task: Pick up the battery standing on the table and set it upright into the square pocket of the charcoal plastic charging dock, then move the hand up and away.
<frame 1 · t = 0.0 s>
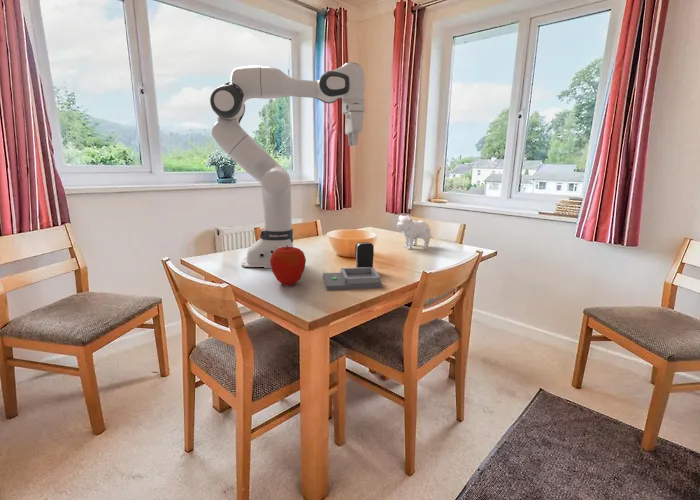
hand: (352, 145, 146), 48 cm above the table, tool pointing down, fingers open, 8 cm apart
apple: (288, 284, 127), on the table
battery: (363, 271, 143), on the table
charging dock: (351, 282, 129), on the table
white dog figurine: (414, 247, 182), on the table
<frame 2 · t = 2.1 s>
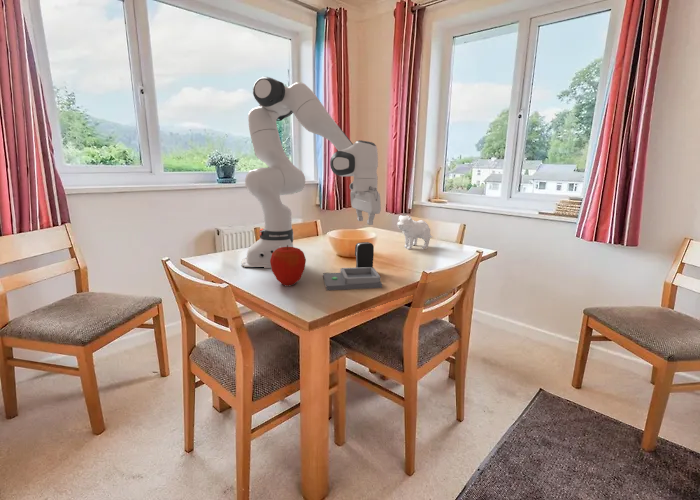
hand: (364, 222, 138), 19 cm above the table, tool pointing down, fingers open, 8 cm apart
nothing on the table moved.
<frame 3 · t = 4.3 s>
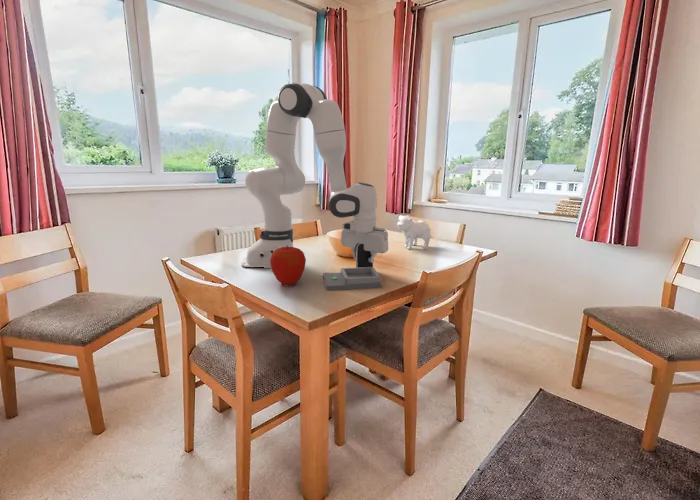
hand: (363, 260, 142), 4 cm above the table, tool pointing down, fingers open, 6 cm apart
battery: (363, 271, 143), on the table, touching gripper
everything else where it was.
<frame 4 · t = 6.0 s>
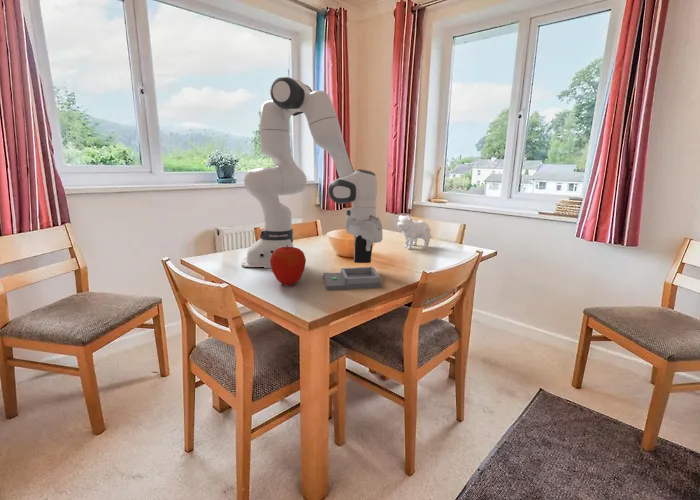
hand: (362, 248, 141), 9 cm above the table, tool pointing down, fingers closed on battery, 5 cm apart
battery: (361, 262, 143), point 3 cm above the table, touching gripper
everything else where it was.
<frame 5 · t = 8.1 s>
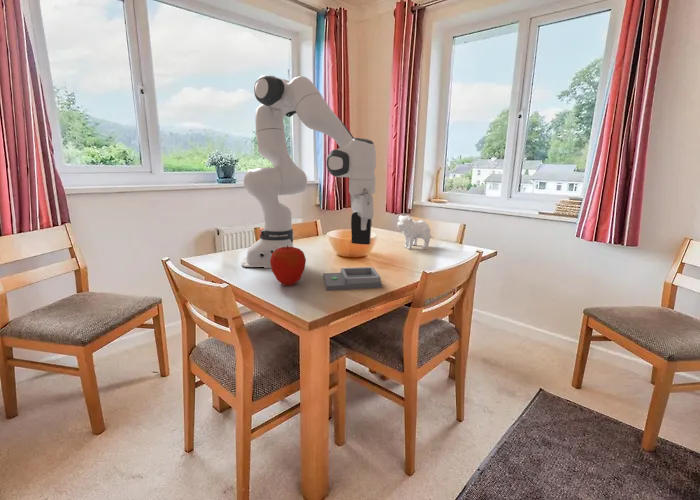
hand: (361, 228, 126), 19 cm above the table, tool pointing down, fingers closed on battery, 5 cm apart
battery: (361, 243, 128), point 14 cm above the table, touching gripper
everything else where it was.
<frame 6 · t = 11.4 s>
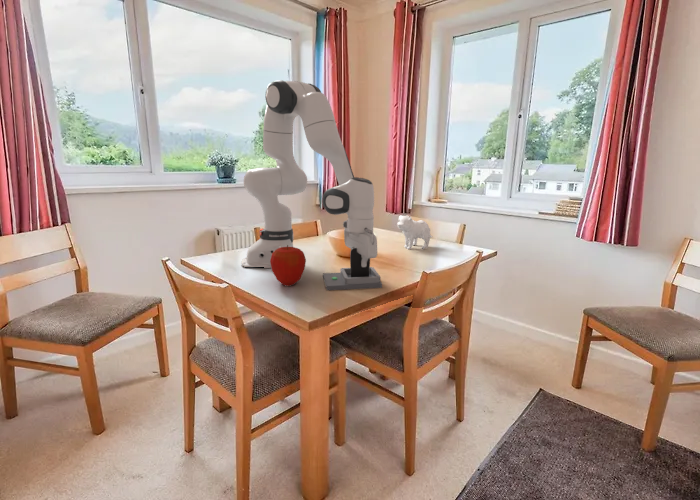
hand: (359, 264, 128), 7 cm above the table, tool pointing down, fingers closed on battery, 5 cm apart
battery: (359, 277, 130), point 1 cm above the table, touching charging dock, gripper
everything else where it was.
when the fingers open (7 cm above the table, at t = 11.5 s): battery stays where it is, resting on charging dock.
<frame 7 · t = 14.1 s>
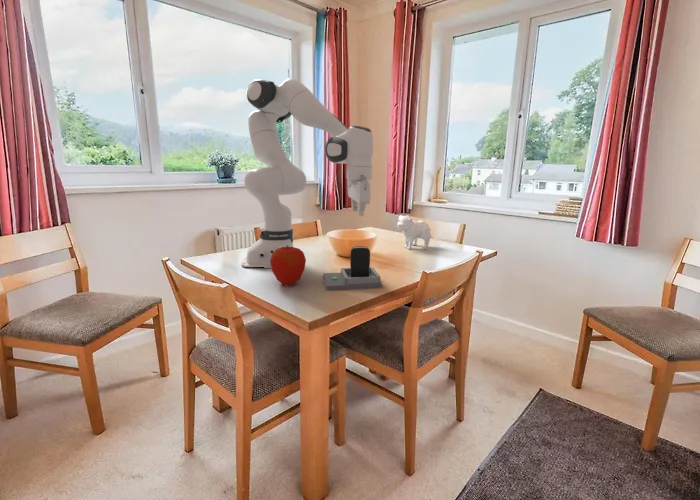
hand: (357, 213, 131), 24 cm above the table, tool pointing down, fingers open, 8 cm apart
battery: (359, 278, 130), point 1 cm above the table, touching charging dock
everything else where it was.
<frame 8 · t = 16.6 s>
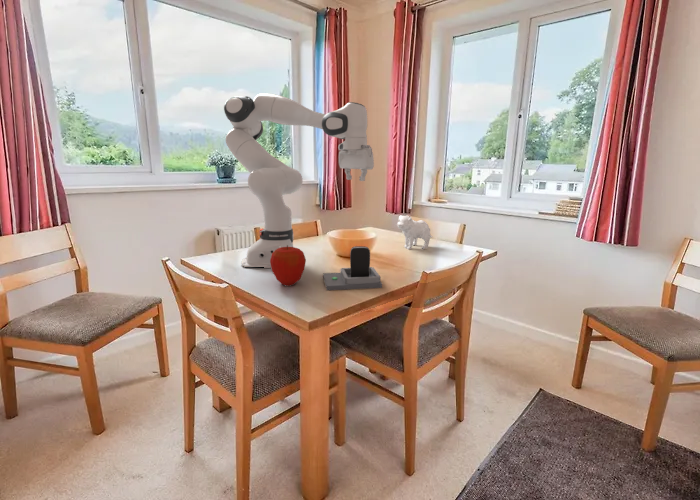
hand: (355, 180, 150), 34 cm above the table, tool pointing down, fingers open, 8 cm apart
nothing on the table moved.
at the end: battery 0.3 cm from the target spot on the charging dock, point 1.3 cm above the charging dock's base; battery tilted 0°; the gripper is holding nothing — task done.
